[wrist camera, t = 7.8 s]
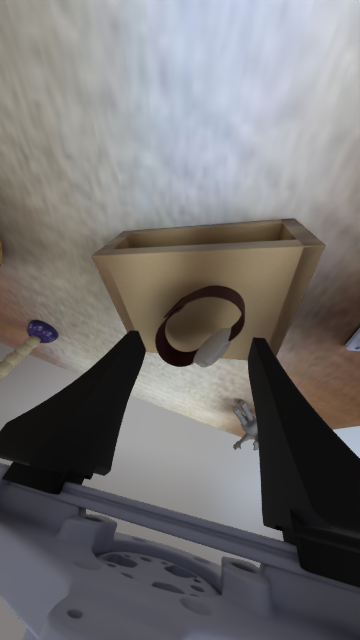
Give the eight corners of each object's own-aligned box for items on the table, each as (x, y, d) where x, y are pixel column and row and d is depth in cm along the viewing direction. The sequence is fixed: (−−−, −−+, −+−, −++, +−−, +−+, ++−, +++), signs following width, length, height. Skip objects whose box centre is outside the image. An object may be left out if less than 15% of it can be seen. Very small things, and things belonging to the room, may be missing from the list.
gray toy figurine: (270, 396, 29) (291, 434, 31) (248, 381, 35) (267, 414, 37) (224, 434, 28) (249, 472, 29) (209, 412, 33) (231, 445, 35)
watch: (190, 352, 16) (184, 389, 14) (147, 327, 15) (131, 363, 12) (262, 304, 11) (274, 349, 9) (206, 260, 10) (201, 297, 7)
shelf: (295, 218, 12) (326, 245, 8) (263, 322, 19) (273, 362, 15) (123, 231, 14) (90, 255, 11) (150, 318, 21) (135, 351, 18)
